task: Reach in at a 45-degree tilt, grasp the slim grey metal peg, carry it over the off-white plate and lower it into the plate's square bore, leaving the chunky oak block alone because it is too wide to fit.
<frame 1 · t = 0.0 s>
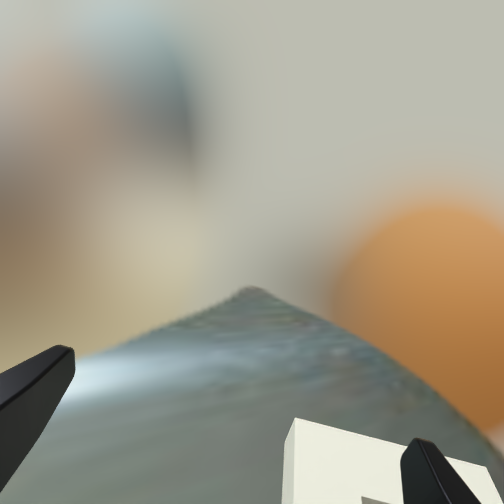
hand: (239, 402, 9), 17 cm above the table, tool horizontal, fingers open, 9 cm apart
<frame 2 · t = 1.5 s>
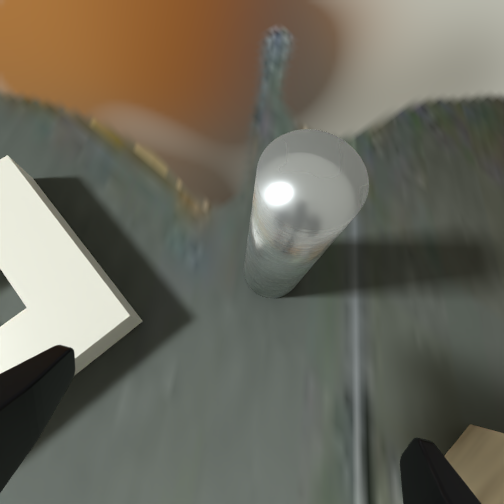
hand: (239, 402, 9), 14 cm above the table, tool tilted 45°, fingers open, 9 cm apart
oak block: (478, 501, 21), on the table
metal peg: (271, 270, 24), on the table
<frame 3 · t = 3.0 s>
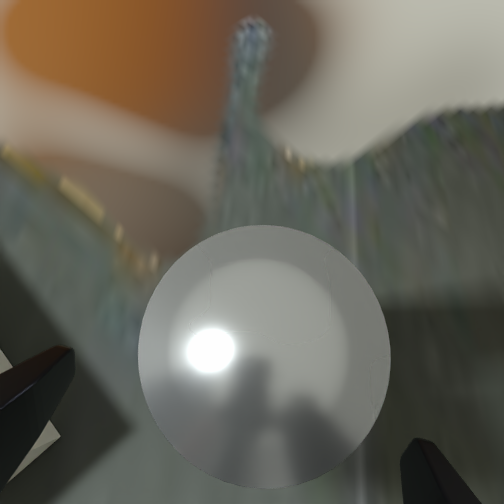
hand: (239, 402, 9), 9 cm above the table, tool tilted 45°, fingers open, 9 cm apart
metal peg: (242, 352, 18), on the table
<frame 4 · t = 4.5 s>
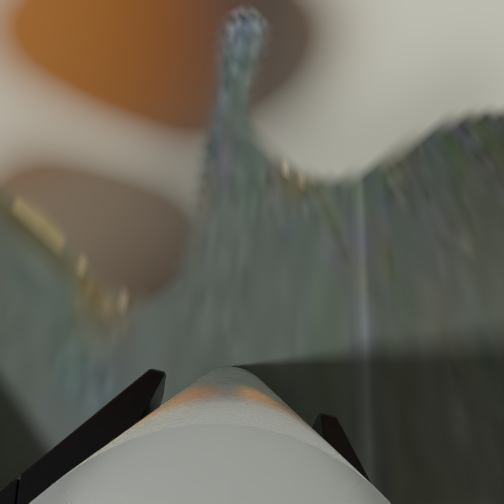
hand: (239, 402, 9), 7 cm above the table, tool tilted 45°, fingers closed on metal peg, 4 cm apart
metal peg: (228, 415, 15), on the table, touching gripper
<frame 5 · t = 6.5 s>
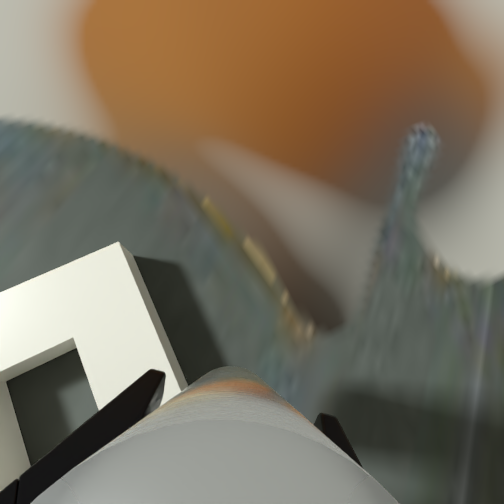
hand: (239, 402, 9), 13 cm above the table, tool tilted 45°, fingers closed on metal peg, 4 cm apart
metal peg: (229, 414, 15), point 7 cm above the table, touching gripper
bore plate: (65, 402, 21), on the table
when the fingers open (8 cm above the table, at t = 8.9 s): metal peg drops 1 cm, resting in bore plate.
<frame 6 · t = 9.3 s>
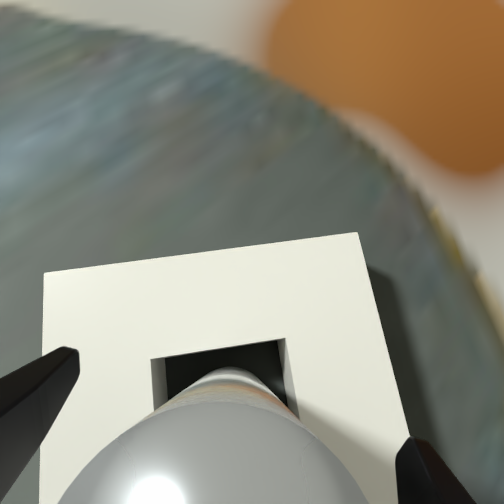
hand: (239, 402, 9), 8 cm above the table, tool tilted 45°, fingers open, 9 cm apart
metal peg: (229, 410, 16), resting in bore plate
bore plate: (229, 409, 16), on the table
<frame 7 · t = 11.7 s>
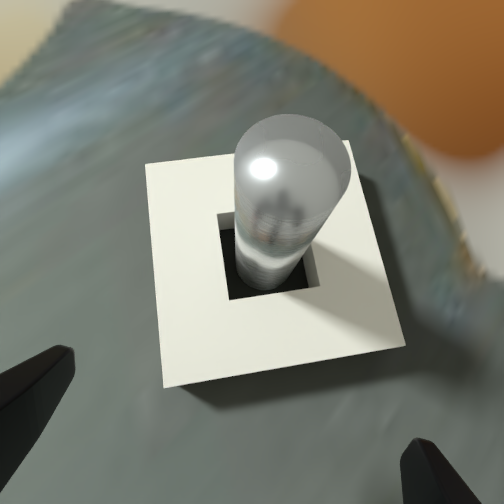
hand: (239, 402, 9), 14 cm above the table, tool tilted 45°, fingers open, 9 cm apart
metal peg: (263, 262, 24), resting in bore plate
bore plate: (263, 261, 24), on the table
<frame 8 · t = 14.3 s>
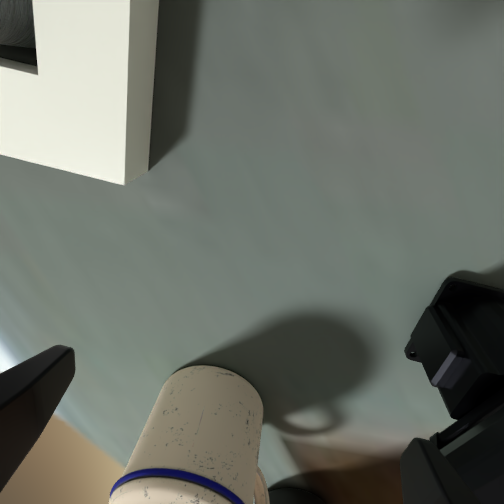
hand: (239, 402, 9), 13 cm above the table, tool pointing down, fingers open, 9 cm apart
teacup with lid: (225, 409, 29), on the table
cola bottle: (293, 502, 34), on the table
metal peg: (22, 1, 17), resting in bore plate
bore plate: (21, 1, 17), on the table
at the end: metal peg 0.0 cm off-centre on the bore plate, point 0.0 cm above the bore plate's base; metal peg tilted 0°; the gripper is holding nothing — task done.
